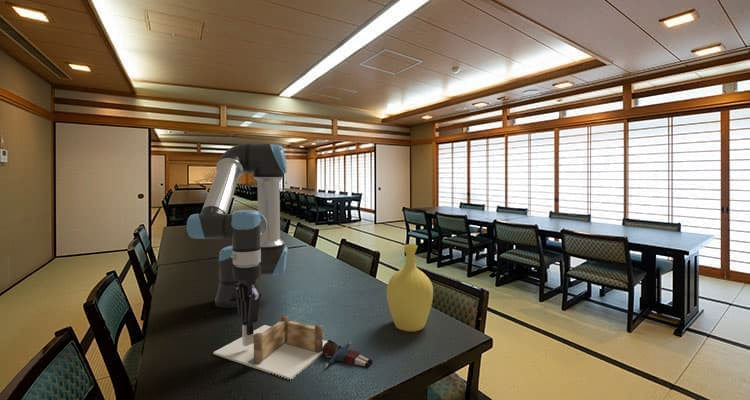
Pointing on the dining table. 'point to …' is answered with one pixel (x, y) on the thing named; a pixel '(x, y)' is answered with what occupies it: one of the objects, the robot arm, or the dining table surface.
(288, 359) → the card
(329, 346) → the toy
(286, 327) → the fence wing
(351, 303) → the dining table surface
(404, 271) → the vase
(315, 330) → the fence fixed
